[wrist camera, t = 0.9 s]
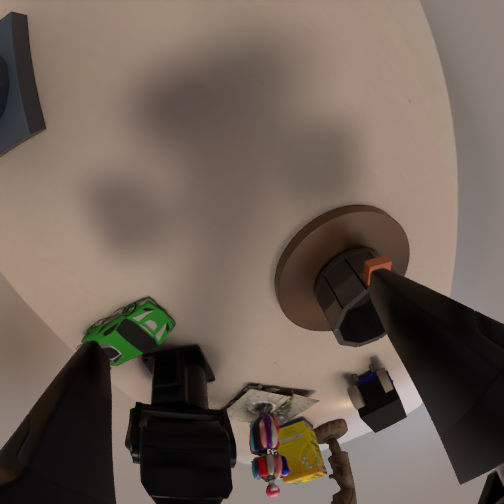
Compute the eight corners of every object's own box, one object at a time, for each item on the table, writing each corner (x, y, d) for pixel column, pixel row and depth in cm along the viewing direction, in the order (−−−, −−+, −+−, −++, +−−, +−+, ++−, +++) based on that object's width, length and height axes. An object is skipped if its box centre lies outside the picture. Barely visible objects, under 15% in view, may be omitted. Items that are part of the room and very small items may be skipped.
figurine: (306, 429, 45) (332, 519, 28) (343, 415, 44) (376, 504, 28) (314, 439, 50) (337, 517, 33) (347, 427, 49) (374, 504, 33)
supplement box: (312, 424, 44) (328, 474, 35) (282, 434, 44) (295, 484, 35) (303, 415, 41) (319, 472, 31) (270, 427, 41) (283, 483, 32)
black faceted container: (380, 298, 25) (402, 331, 22) (314, 319, 25) (331, 356, 21) (390, 224, 21) (422, 253, 17) (311, 242, 21) (334, 279, 17)
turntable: (393, 302, 29) (398, 309, 28) (282, 336, 28) (285, 345, 27) (409, 193, 21) (417, 199, 20) (264, 223, 21) (267, 230, 20)
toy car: (147, 291, 23) (144, 310, 21) (181, 324, 25) (180, 343, 23) (79, 331, 24) (73, 348, 22) (111, 357, 26) (107, 373, 24)
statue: (218, 406, 37) (216, 500, 24) (249, 375, 33) (255, 489, 20) (280, 419, 40) (289, 502, 27) (317, 392, 36) (337, 487, 23)
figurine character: (333, 369, 36) (362, 404, 42) (349, 412, 29) (375, 437, 36) (375, 345, 35) (395, 386, 41) (397, 386, 28) (411, 418, 35)
